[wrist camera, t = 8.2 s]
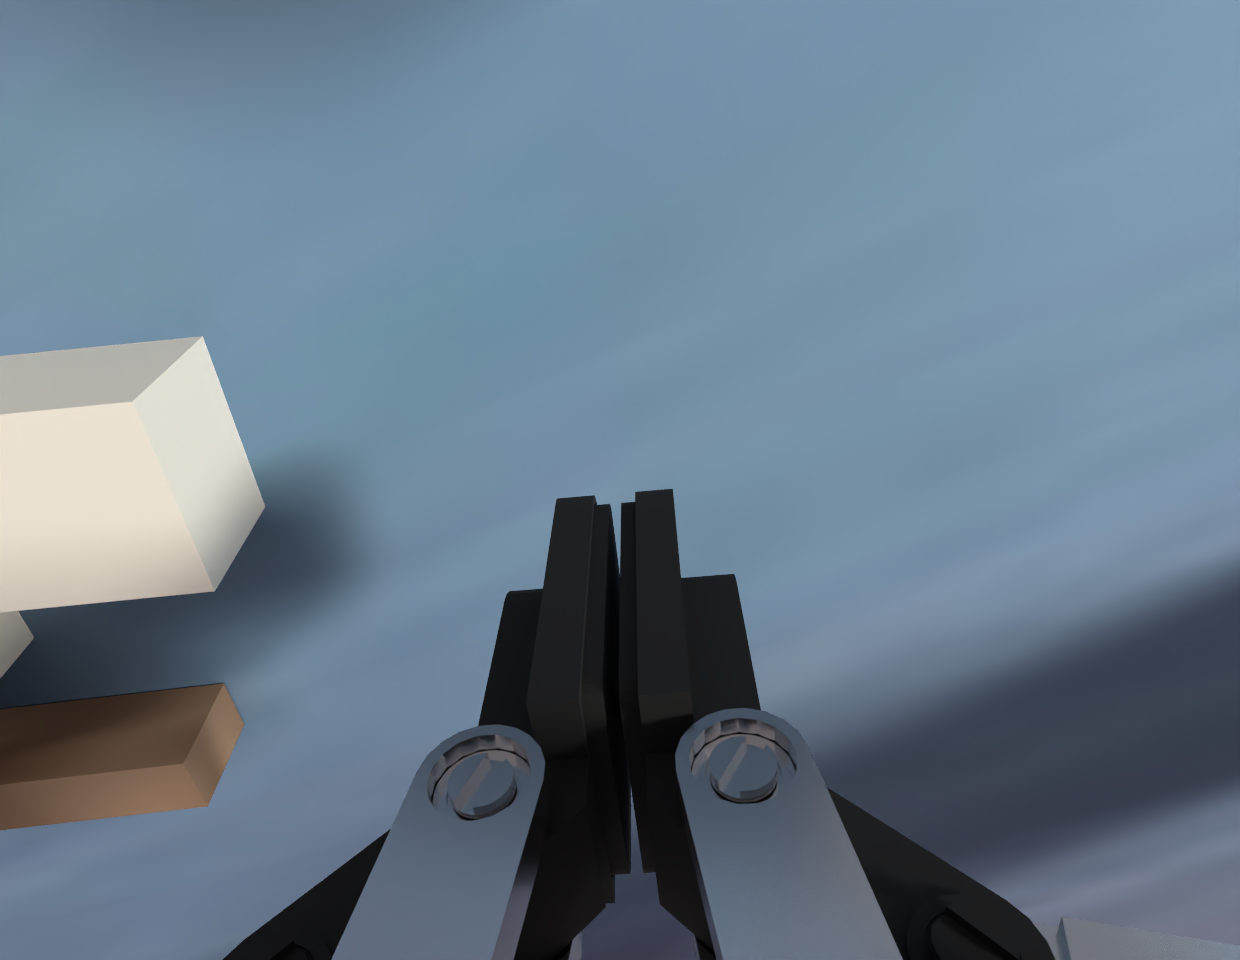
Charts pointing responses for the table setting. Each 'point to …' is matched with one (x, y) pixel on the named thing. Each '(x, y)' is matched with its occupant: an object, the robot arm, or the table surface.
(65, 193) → the table surface
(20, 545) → the t block
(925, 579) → the table surface
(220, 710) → the brown u-shaped bracket
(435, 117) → the table surface
